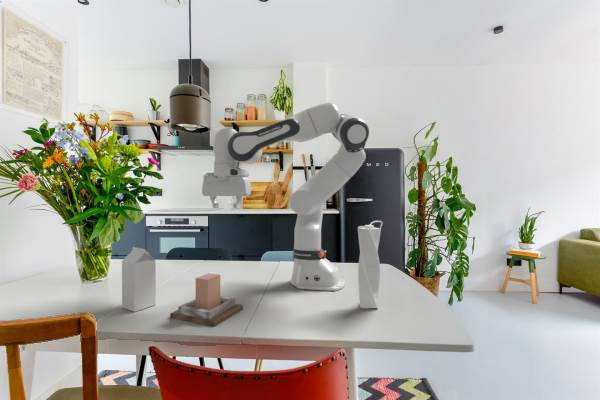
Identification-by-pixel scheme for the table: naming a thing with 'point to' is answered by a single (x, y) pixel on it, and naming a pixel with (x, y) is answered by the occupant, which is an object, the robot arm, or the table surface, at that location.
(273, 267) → the table surface
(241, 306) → the walnut board
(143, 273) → the milk carton
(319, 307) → the table surface
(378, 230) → the skyscraper
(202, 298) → the terracotta post
